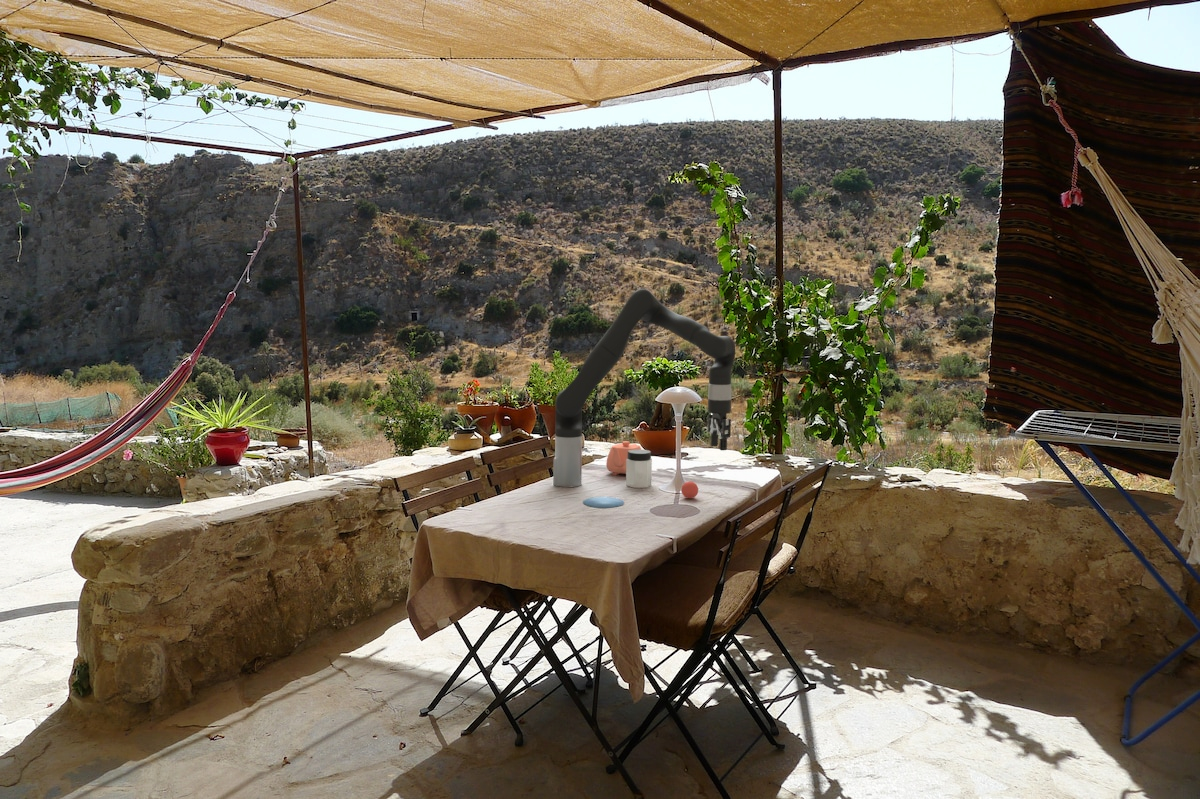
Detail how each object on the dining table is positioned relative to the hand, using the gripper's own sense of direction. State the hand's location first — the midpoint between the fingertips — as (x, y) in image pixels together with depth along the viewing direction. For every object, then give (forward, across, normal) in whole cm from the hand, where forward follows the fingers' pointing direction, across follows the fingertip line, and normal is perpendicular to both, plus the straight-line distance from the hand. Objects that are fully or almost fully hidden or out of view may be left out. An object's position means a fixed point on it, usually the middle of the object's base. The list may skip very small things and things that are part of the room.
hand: (718, 447), depth 256 cm
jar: (+16, +21, +21) cm, 34 cm away
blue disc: (+16, 0, +39) cm, 42 cm away
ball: (+13, 0, +10) cm, 17 cm away
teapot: (+16, +40, +21) cm, 48 cm away
